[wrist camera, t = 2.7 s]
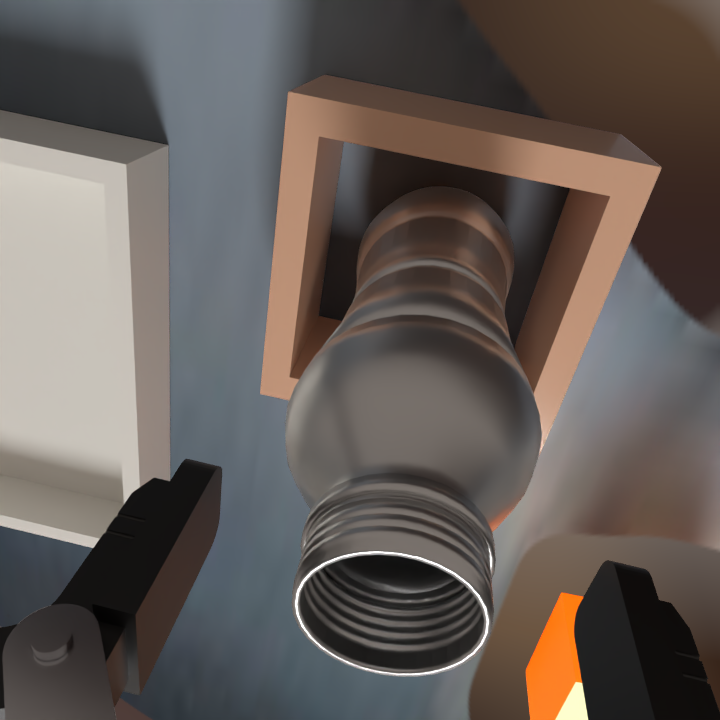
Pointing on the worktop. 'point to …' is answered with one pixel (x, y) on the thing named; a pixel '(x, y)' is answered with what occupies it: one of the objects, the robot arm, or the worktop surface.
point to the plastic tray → (81, 325)
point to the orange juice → (557, 668)
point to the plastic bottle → (412, 442)
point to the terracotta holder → (466, 148)
